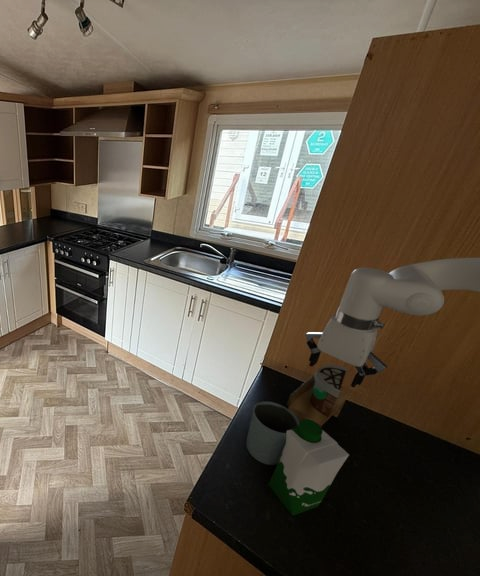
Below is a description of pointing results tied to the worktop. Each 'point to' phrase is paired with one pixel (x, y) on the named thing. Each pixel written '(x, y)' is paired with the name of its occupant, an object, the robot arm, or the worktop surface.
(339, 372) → the food container
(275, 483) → the milk carton
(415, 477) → the worktop surface
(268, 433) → the grey cup
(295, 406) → the paper bag
